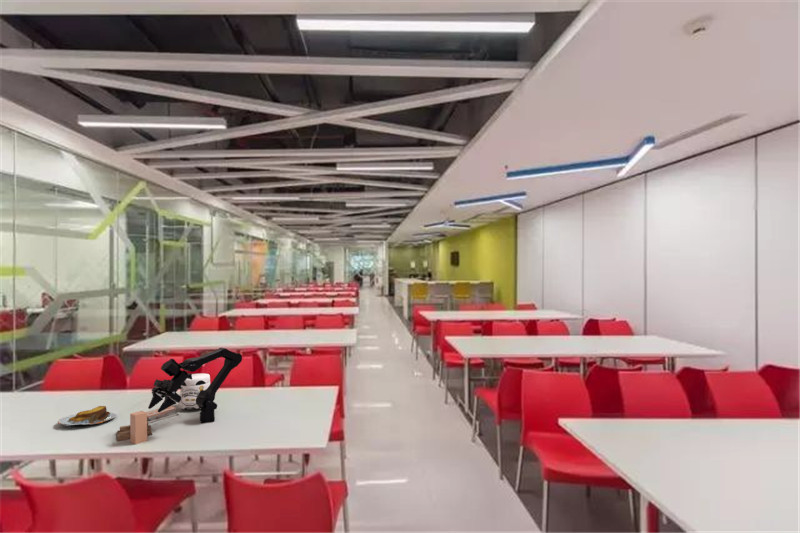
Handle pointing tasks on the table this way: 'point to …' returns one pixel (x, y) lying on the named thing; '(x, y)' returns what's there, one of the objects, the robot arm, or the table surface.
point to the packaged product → (161, 414)
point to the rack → (125, 432)
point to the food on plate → (88, 417)
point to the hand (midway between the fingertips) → (153, 410)
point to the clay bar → (138, 427)
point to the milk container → (193, 390)
